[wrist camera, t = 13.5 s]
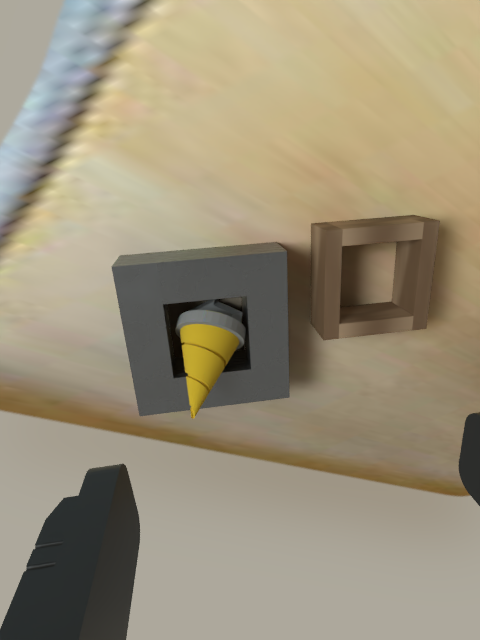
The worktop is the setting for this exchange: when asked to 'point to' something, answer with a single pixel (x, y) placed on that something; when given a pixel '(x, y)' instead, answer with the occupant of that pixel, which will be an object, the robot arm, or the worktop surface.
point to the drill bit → (208, 346)
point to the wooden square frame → (409, 276)
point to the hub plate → (196, 285)
